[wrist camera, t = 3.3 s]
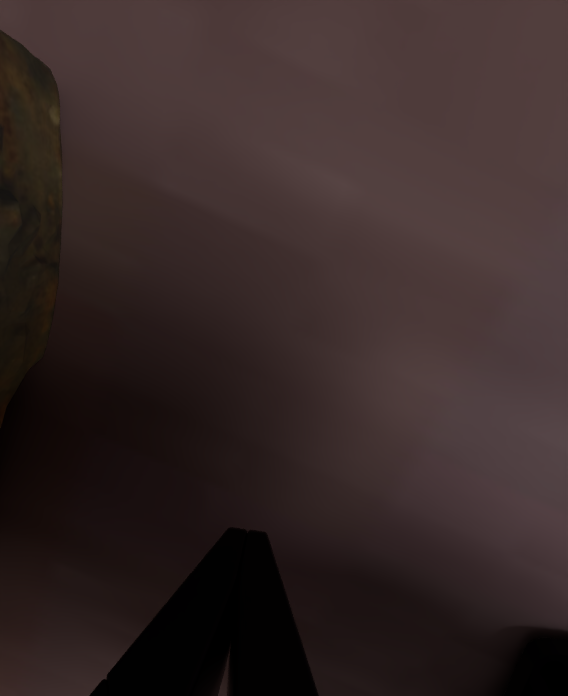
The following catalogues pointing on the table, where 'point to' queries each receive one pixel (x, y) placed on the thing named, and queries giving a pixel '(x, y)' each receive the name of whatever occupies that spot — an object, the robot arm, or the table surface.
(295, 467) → the table surface
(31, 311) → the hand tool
